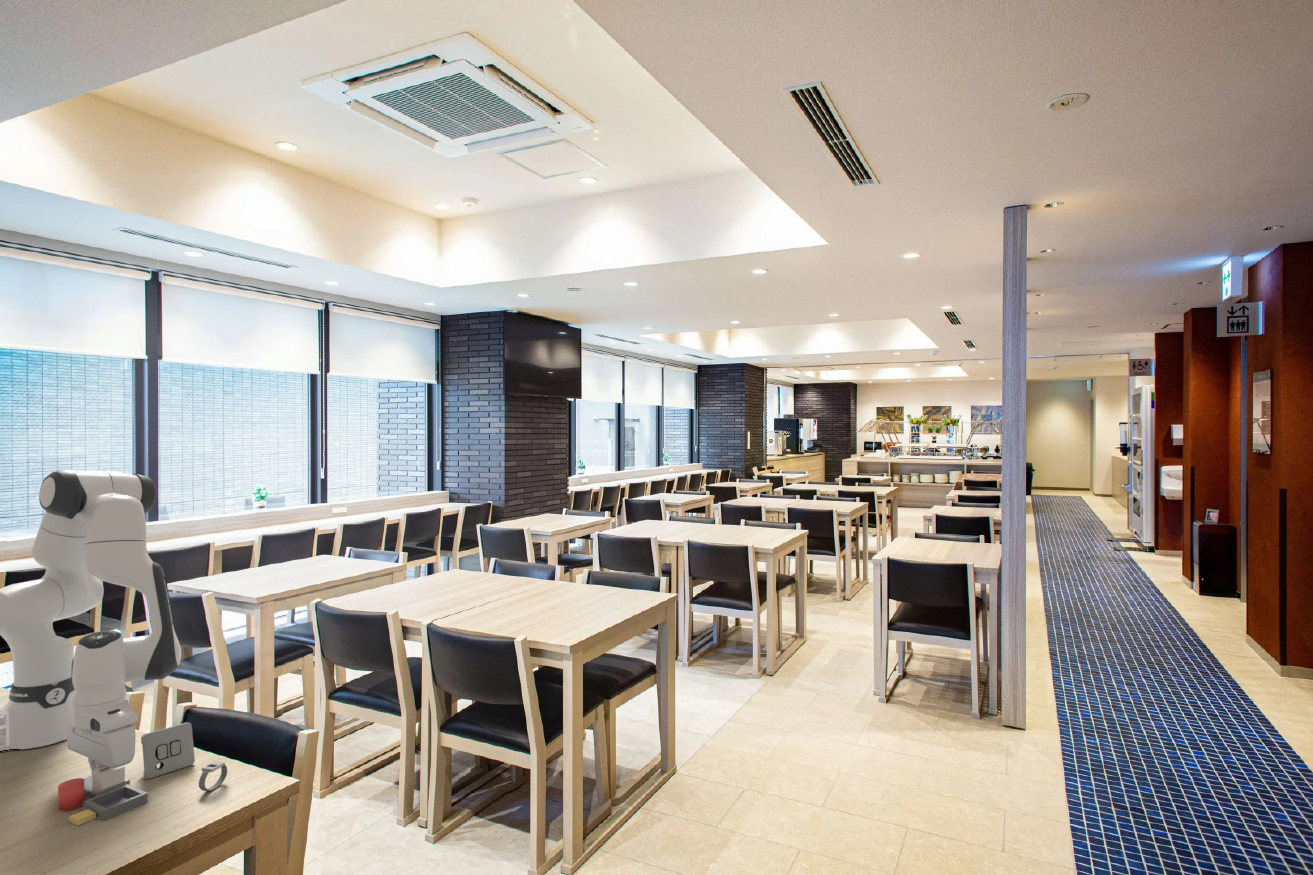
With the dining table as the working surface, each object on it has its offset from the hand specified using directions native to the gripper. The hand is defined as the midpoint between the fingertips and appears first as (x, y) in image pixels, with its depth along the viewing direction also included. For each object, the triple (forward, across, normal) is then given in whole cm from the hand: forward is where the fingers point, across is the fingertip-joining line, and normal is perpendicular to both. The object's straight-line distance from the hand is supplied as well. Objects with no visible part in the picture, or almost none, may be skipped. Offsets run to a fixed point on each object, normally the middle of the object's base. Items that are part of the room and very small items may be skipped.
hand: (99, 777), depth 142 cm
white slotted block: (+2, +4, 0) cm, 4 cm away
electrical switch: (+2, +3, +11) cm, 12 cm away
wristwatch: (+2, +21, +11) cm, 24 cm away
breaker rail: (+2, 0, 0) cm, 2 cm away
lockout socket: (+2, +11, -4) cm, 12 cm away
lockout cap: (+2, +3, -6) cm, 7 cm away
